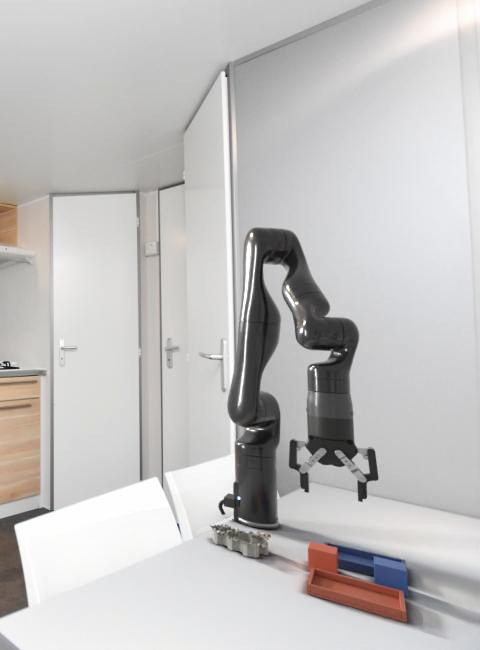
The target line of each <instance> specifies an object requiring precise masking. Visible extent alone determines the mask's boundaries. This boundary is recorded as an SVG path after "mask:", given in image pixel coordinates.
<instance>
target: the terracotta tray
mask: <svg viewBox="0 0 480 650" xmlns="http://www.w3.org/2000/svg"><path fill="white" fill-rule="evenodd" d="M306 594H307V595H309V596H313V597H317V598H320V599H323V600H326V601H331V602H333V603H338V604H341V605H344V606H348V607H351V608H355V609H358V610H361V611H365V612H368V613H372V614H375V615H379V616H381V617H385V618H389V619H393V620H396V621H399V622H402V623H408V617H407V616H408V615H407V607H406V599H405V597H404V592H403V591H401V590H397V589H393V588H389V587H386V586H382V585H378V584H375V582H370V581H367V580H362V579H358V578H354V577H351V576H347V575H344V574H340V573H338V574H336V573H332V572H328V571H324V570H320V569H317V568H313V567H311V570H310V571H309V573H308V578H307V581H306Z"/></svg>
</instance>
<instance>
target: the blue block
mask: <svg viewBox="0 0 480 650" xmlns="http://www.w3.org/2000/svg"><path fill="white" fill-rule="evenodd" d="M406 567H407V563H406V564H405V563H401V562H397V561H392V560H388V559H384V558H379V557H375V556H374V576H373V577H374V578H373V579H374V584H378V585H382V586H386V587H389V588H393V589H397V590H401V591H403V592H404V598H409V589H408V587H409V584H408V585H407V573H408V569H407V570H406Z"/></svg>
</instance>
